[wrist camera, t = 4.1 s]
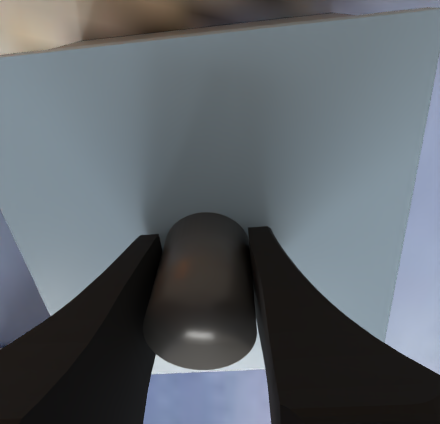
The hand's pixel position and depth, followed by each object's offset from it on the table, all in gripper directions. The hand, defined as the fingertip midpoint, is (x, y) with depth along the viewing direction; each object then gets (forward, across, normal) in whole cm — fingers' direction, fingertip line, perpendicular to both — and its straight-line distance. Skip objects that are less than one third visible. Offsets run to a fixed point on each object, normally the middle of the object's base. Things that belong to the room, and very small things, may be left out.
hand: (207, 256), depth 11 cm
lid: (+1, 0, 0) cm, 1 cm away
